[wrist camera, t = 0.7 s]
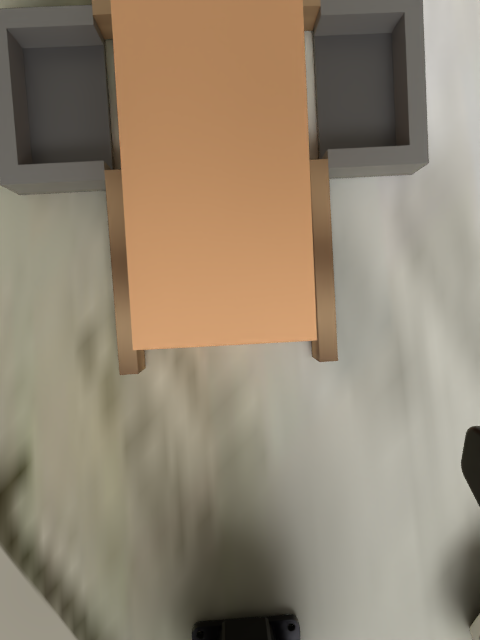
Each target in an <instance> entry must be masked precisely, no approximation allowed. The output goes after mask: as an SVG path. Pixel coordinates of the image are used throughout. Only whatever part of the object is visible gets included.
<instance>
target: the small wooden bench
mask: <svg viewBox="0 0 480 640" xmlns="http://www.w3.org/2000/svg"><path fill="white" fill-rule="evenodd" d="M320 6H321V4H320V0H303V17H304V31H313V28H314V25H315V22H316V19H317V15H318V12H319V9H320ZM92 11H93V16H94V19H95V21H96V23H97V25H98V27H99V29H100V31H101V33H102V35H103V38H104V39H113V32H112V17H111V1H110V0H92ZM309 161H310V185H311V209H312V233H313V257H314V280H315V304H316V328H317V340H315V341H312V357H313V358H315V359H316V360H318V361H319V362H327V361H338V354H337V333H336V312H335V292H334V271H333V251H332V230H331V210H330V189H329V168H328V159H315V160H309ZM104 172H105V185H106V198H107V212H108V225H109V238H110V252H111V265H112V278H113V292H114V305H115V318H116V332H117V345H118V358H119V372H120V375H126V374H138V373H140V372H141V371H142V370H143V369H145V368H146V367H145V354H144V350H133V345H132V329H131V314H130V298H129V282H128V267H127V251H126V236H125V220H124V204H123V189H122V173H121V169H117V170H104Z"/></svg>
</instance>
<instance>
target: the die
mask: <svg viewBox="0 0 480 640" xmlns="http://www.w3.org/2000/svg"><path fill="white" fill-rule="evenodd" d="M470 632H471V636H472V640H480V614H479V615H478V617H477V618H476V619H475V621H474V622H473V624H472V625H471V626H470Z"/></svg>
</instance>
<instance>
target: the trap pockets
mask: <svg viewBox="0 0 480 640" xmlns="http://www.w3.org/2000/svg"><path fill="white" fill-rule="evenodd" d="M320 4H321V6H320V9H319V12H318V15H317V19H316V22H315V25H314V28H313V46H314V66H315V87H316V107H317V127H318V147H319V159H328V168H329V179H334V178H354V177H373V176H392V175H411V174H413V173H415V172H416V171H418V170H419V169H421V168H422V167H424V166H425V165H427V164H428V163H429V159H428V132H427V105H426V78H425V51H424V24H423V0H320ZM104 170H114V164H113V150H112V137H111V123H110V110H109V96H108V83H107V69H106V55H105V42H104V38H103V35H102V33H101V31H100V29H99V27H98V25H97V23H96V21H95V19H94V16H93V11H92V5H77V6H52V7H27V8H1V9H0V185H1V186H3V187H5V188H7V189H9V190H11V191H13V192H15V193H17V194H19V195H27V194H46V193H66V192H85V191H104V190H106V185H105V172H104Z"/></svg>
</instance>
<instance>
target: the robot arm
mask: <svg viewBox="0 0 480 640" xmlns="http://www.w3.org/2000/svg"><path fill="white" fill-rule="evenodd" d="M461 468H462V472H463V475H464V477H465V479H466V481H467V483H468V485H469V487H470V489H471V491H472V493H473V495H474V497H475V499H476V500H477V502H478V504H479V506H480V426H473V427H470V428H469V429H468V430H467V432H466V436H465V442H464V448H463V454H462V459H461ZM290 623H292V624H294V625H293V626H288V625H289V624H290ZM198 631H203V632H204V633H202V634H200V633H198ZM192 640H300V627H299V622H298V618H297V617H296V616H294V615H291V614H288V615H276V616H264V617H252V618H239V619H227V620H215V621H203V622H197V623H196V624H195V625H194V626H193V631H192Z"/></svg>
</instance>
